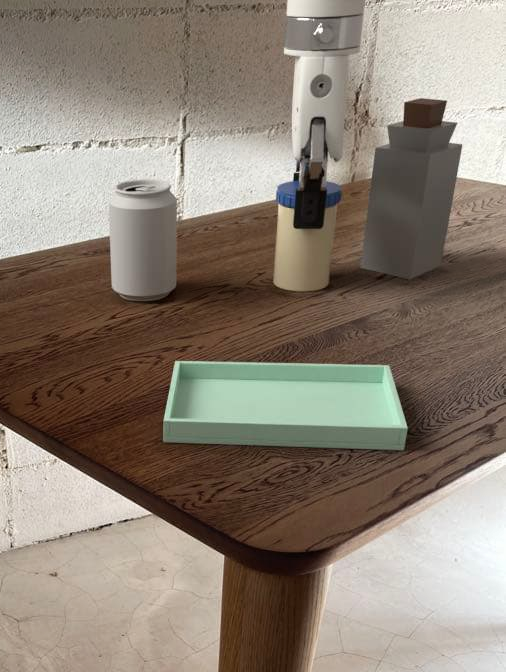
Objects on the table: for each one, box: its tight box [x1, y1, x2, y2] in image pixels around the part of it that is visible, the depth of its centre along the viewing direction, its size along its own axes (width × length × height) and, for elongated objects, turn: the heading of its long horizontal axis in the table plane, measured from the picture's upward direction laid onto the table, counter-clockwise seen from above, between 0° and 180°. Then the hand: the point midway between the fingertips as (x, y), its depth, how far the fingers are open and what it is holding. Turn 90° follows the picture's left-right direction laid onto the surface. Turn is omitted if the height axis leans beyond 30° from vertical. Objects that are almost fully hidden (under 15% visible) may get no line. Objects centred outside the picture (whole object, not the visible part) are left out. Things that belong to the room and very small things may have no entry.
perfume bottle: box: [359, 97, 463, 280], centre depth 100 cm, size 7×7×18 cm
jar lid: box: [275, 180, 343, 208], centre depth 96 cm, size 7×7×1 cm
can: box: [108, 178, 178, 302], centre depth 98 cm, size 8×8×12 cm
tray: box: [163, 360, 409, 451], centre depth 74 cm, size 19×12×2 cm, turn 81°
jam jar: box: [272, 203, 338, 292], centre depth 99 cm, size 6×6×10 cm
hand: (306, 217), depth 98 cm, fingers closed on jar lid, 6 cm apart
